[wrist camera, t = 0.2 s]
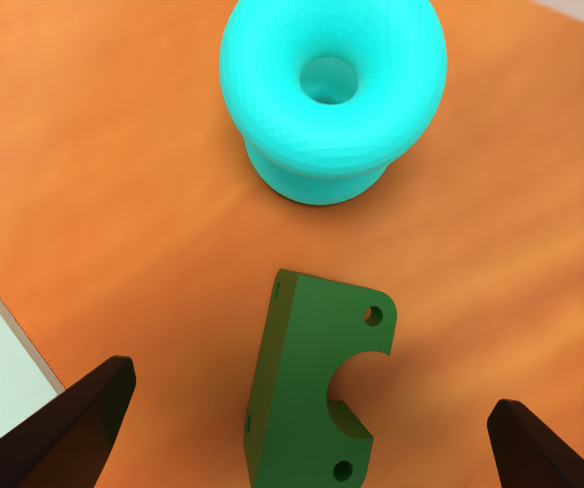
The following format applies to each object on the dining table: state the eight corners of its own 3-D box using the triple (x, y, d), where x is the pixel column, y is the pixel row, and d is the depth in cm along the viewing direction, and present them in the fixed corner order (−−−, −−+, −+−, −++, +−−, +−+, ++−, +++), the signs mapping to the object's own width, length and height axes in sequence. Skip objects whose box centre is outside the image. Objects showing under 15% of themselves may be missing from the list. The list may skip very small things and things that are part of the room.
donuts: (218, 177, 14) (205, -63, 14) (250, 212, 24) (242, 71, 24) (469, 161, 14) (449, -79, 14) (396, 203, 24) (385, 61, 24)
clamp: (317, 392, 27) (350, 520, 19) (243, 383, 26) (244, 517, 18) (372, 259, 23) (443, 348, 15) (287, 240, 22) (314, 327, 14)
